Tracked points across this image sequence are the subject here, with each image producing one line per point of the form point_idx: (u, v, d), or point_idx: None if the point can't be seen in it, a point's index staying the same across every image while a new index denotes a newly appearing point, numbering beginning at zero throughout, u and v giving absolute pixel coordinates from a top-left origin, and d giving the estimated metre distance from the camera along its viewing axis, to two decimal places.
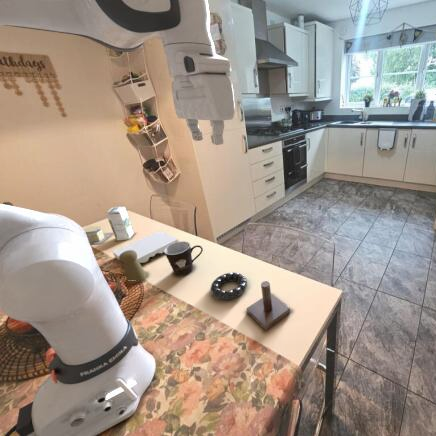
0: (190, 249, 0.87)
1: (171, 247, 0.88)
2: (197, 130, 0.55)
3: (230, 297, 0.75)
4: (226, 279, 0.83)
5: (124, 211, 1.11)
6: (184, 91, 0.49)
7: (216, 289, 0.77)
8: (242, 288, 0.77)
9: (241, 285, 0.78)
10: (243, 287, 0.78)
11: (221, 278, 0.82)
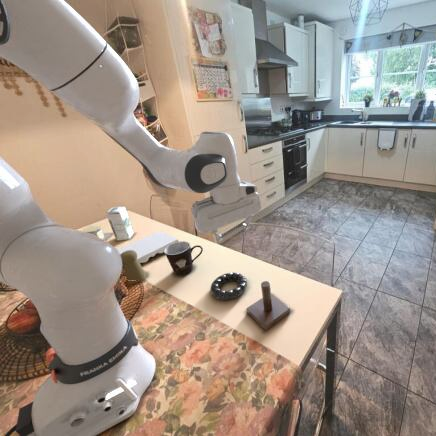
0: (190, 249, 0.87)
1: (171, 247, 0.88)
2: None
3: (230, 297, 0.75)
4: (226, 279, 0.83)
5: (124, 211, 1.11)
6: (221, 209, 0.67)
7: (216, 289, 0.77)
8: (242, 288, 0.77)
9: (241, 285, 0.78)
10: (243, 287, 0.78)
11: (221, 278, 0.82)
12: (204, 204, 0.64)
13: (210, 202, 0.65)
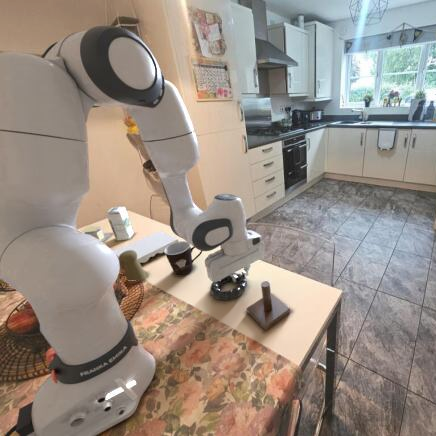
0: (190, 249, 0.87)
1: (171, 247, 0.88)
2: (233, 275, 0.81)
3: (230, 297, 0.75)
4: (226, 279, 0.83)
5: (124, 211, 1.11)
6: (230, 259, 0.75)
7: (216, 289, 0.77)
8: (242, 288, 0.77)
9: (241, 285, 0.78)
10: (243, 287, 0.78)
11: None
12: (216, 256, 0.73)
13: (221, 254, 0.74)
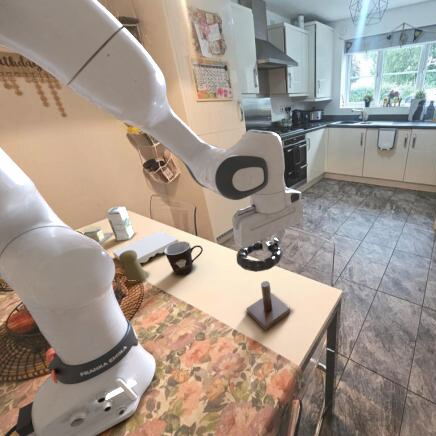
0: (190, 249, 0.87)
1: (171, 247, 0.88)
2: None
3: (263, 268, 0.58)
4: (254, 248, 0.66)
5: (124, 211, 1.11)
6: (264, 219, 0.58)
7: (244, 258, 0.60)
8: (277, 257, 0.60)
9: (276, 253, 0.61)
10: (278, 256, 0.61)
11: (248, 247, 0.65)
12: (246, 214, 0.56)
13: (252, 211, 0.57)
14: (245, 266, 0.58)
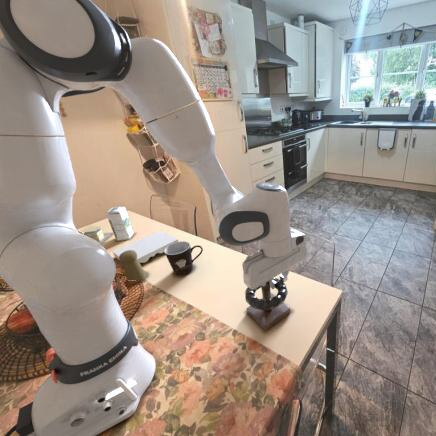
0: (190, 249, 0.87)
1: (171, 247, 0.88)
2: None
3: (270, 307, 0.63)
4: None
5: (124, 211, 1.11)
6: (271, 262, 0.63)
7: (253, 297, 0.64)
8: (283, 296, 0.65)
9: (281, 292, 0.66)
10: (284, 295, 0.66)
11: None
12: (255, 259, 0.61)
13: (261, 256, 0.62)
14: (253, 305, 0.63)
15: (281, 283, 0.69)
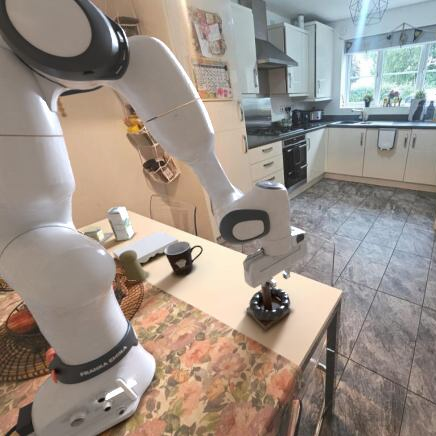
0: (190, 249, 0.87)
1: (171, 247, 0.88)
2: (270, 280, 0.68)
3: (274, 318, 0.65)
4: None
5: (124, 211, 1.11)
6: (272, 260, 0.63)
7: (257, 308, 0.67)
8: (286, 306, 0.68)
9: (284, 303, 0.68)
10: (287, 305, 0.68)
11: (260, 294, 0.72)
12: (256, 257, 0.61)
13: (261, 254, 0.62)
14: (258, 316, 0.66)
15: (284, 294, 0.72)
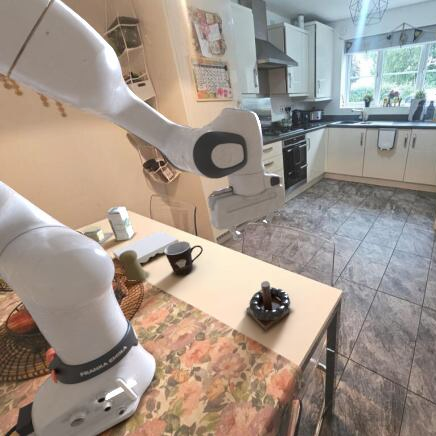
0: (190, 249, 0.87)
1: (171, 247, 0.88)
2: None
3: (274, 318, 0.65)
4: None
5: (124, 211, 1.11)
6: (242, 202, 0.57)
7: (257, 308, 0.67)
8: (286, 306, 0.68)
9: (284, 303, 0.68)
10: (287, 305, 0.68)
11: (260, 294, 0.72)
12: (223, 195, 0.55)
13: (230, 193, 0.56)
14: (258, 316, 0.66)
15: (284, 294, 0.72)
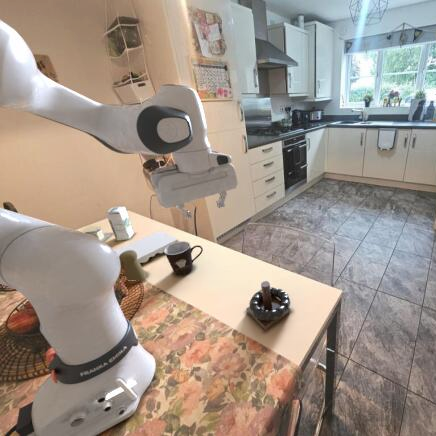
0: (190, 249, 0.87)
1: (171, 247, 0.88)
2: None
3: (274, 318, 0.65)
4: None
5: (124, 211, 1.11)
6: (188, 180, 0.58)
7: (257, 308, 0.67)
8: (286, 306, 0.68)
9: (284, 303, 0.68)
10: (287, 305, 0.68)
11: (260, 294, 0.72)
12: (167, 173, 0.56)
13: (174, 171, 0.57)
14: (258, 316, 0.66)
15: (284, 294, 0.72)
